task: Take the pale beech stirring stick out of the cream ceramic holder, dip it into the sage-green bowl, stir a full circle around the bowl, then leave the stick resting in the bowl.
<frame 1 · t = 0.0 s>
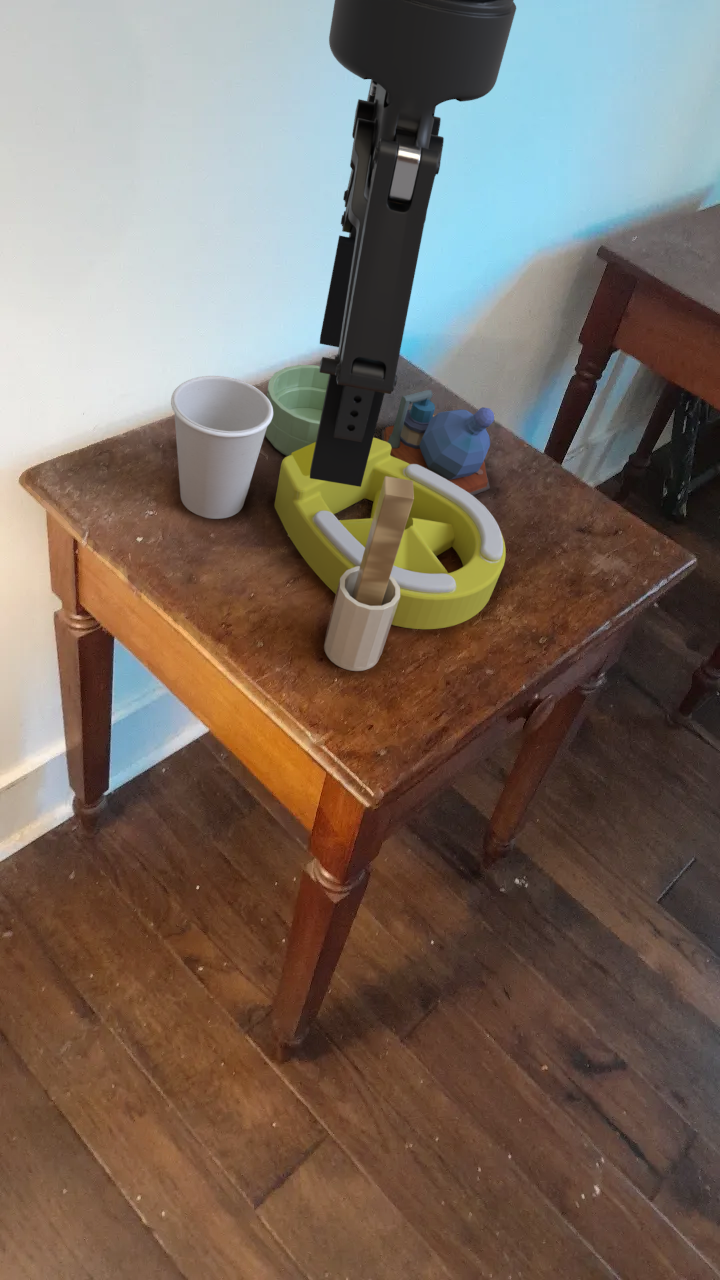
hand: (338, 406, 54), 25 cm above the table, tool pointing down, fingers open, 13 cm apart
dixie cup: (212, 499, 85), on the table
bowl: (311, 436, 94), on the table
holder: (352, 649, 76), on the table
toy steering wheel: (386, 549, 85), on the table
model: (433, 462, 96), on the table
stick: (353, 645, 75), resting on holder
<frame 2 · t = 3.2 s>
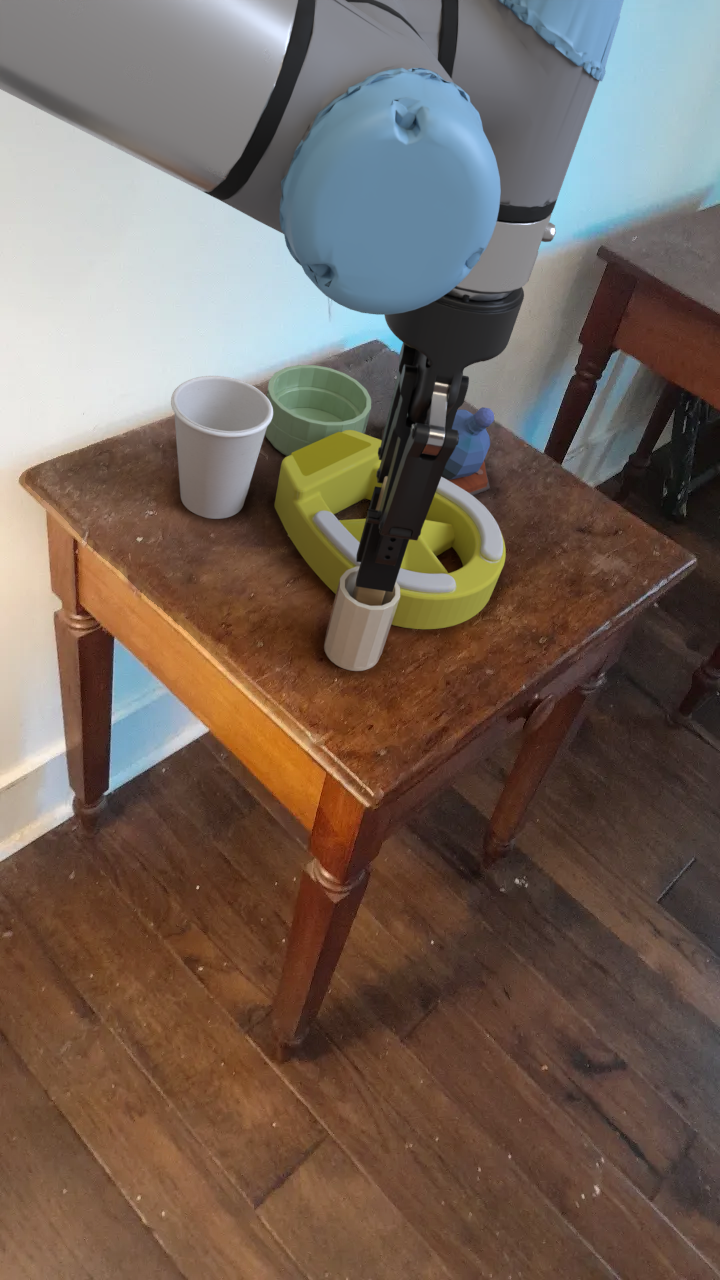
hand: (374, 572, 69), 8 cm above the table, tool pointing down, fingers closed on stick, 2 cm apart
stick: (353, 645, 75), point 1 cm above the table, touching gripper, holder
everything else where it was.
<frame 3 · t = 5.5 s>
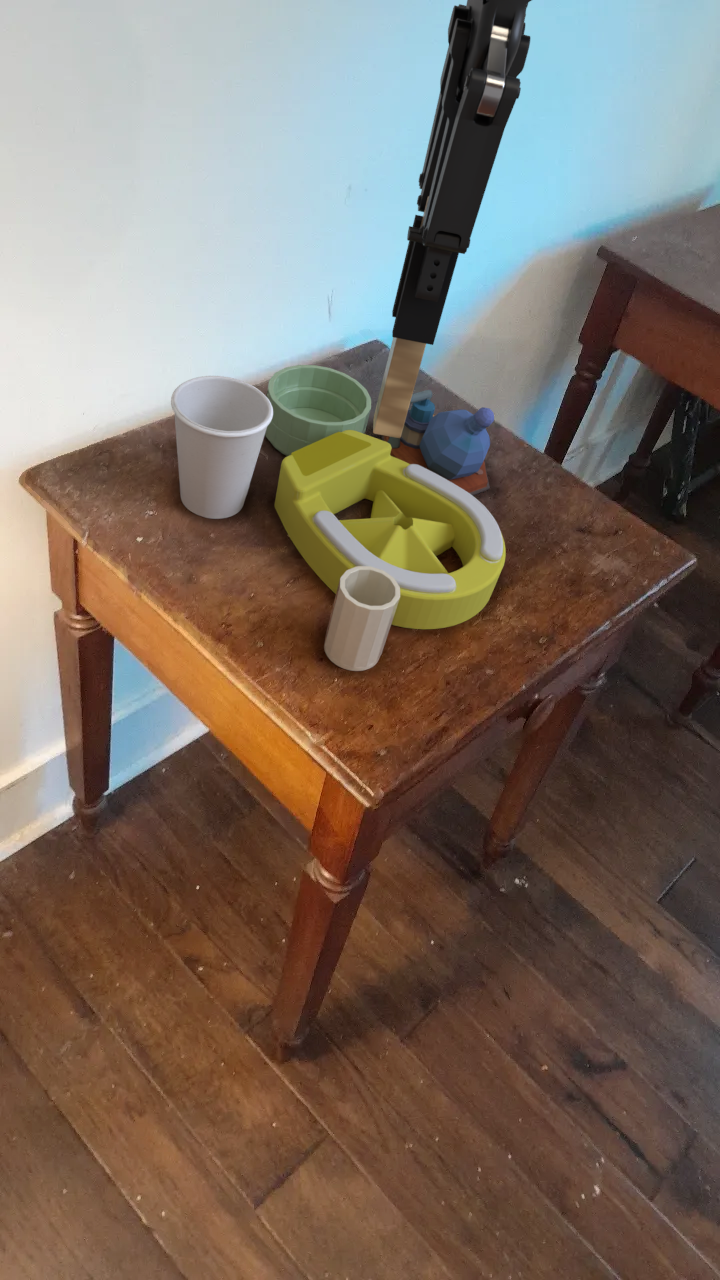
hand: (412, 327, 62), 25 cm above the table, tool pointing down, fingers closed on stick, 2 cm apart
stick: (386, 428, 68), point 17 cm above the table, touching gripper
everything else where it was.
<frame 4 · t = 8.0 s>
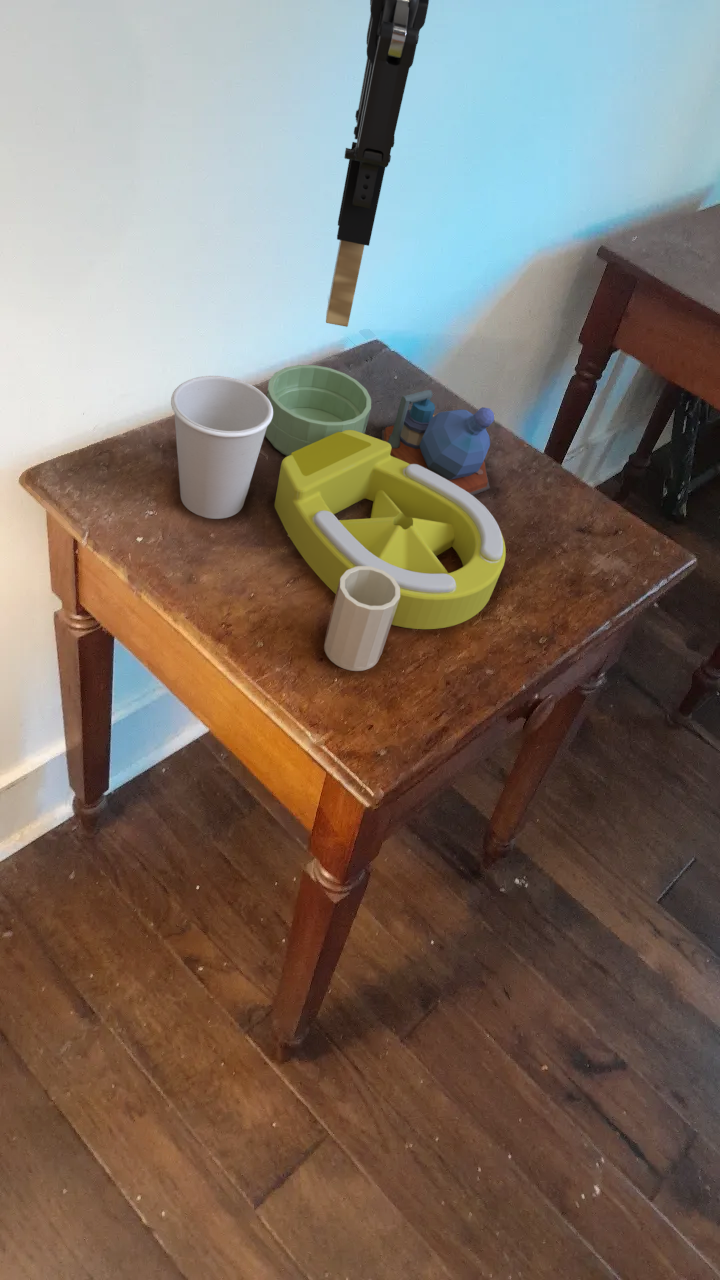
hand: (353, 233, 79), 21 cm above the table, tool pointing down, fingers closed on stick, 2 cm apart
stick: (336, 319, 85), point 13 cm above the table, touching gripper
everything else where it was.
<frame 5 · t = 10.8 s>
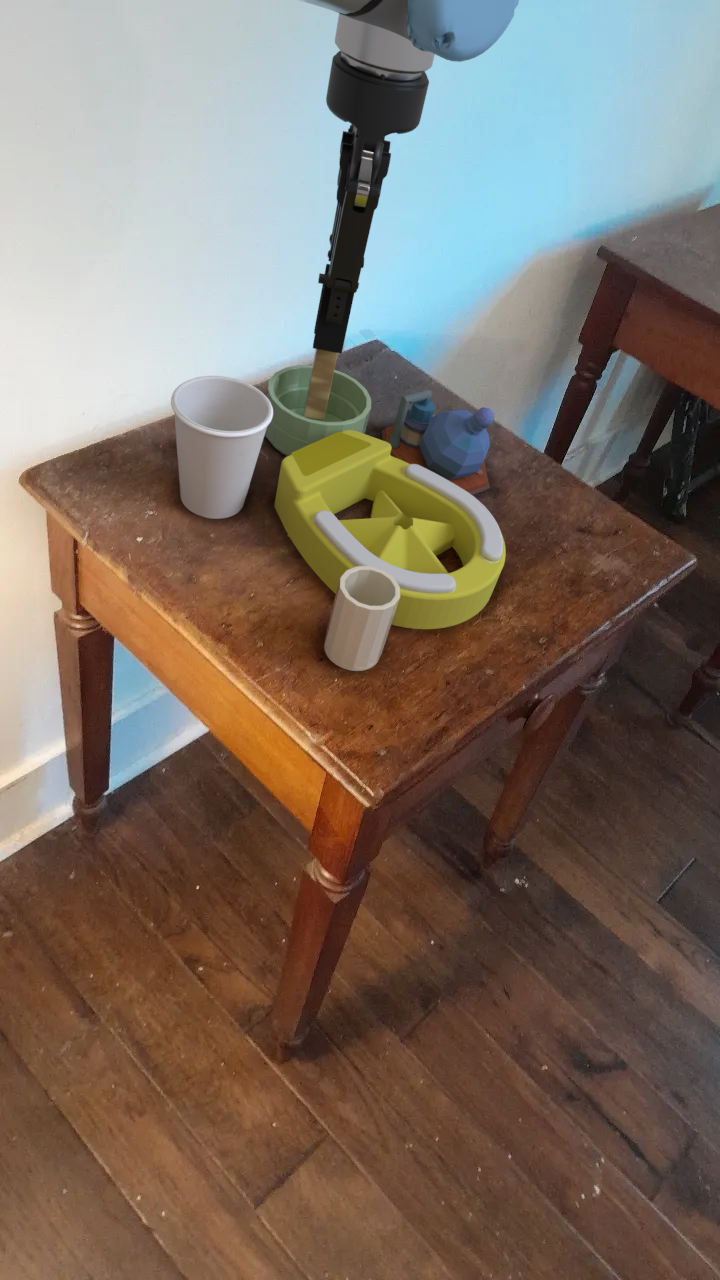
hand: (327, 341, 88), 10 cm above the table, tool pointing down, fingers closed on stick, 2 cm apart
stick: (314, 413, 94), point 2 cm above the table, touching gripper
everything else where it was.
when the fingers open (9 cm above the table, at t = 12.7 s): stick stays where it is, resting on bowl.
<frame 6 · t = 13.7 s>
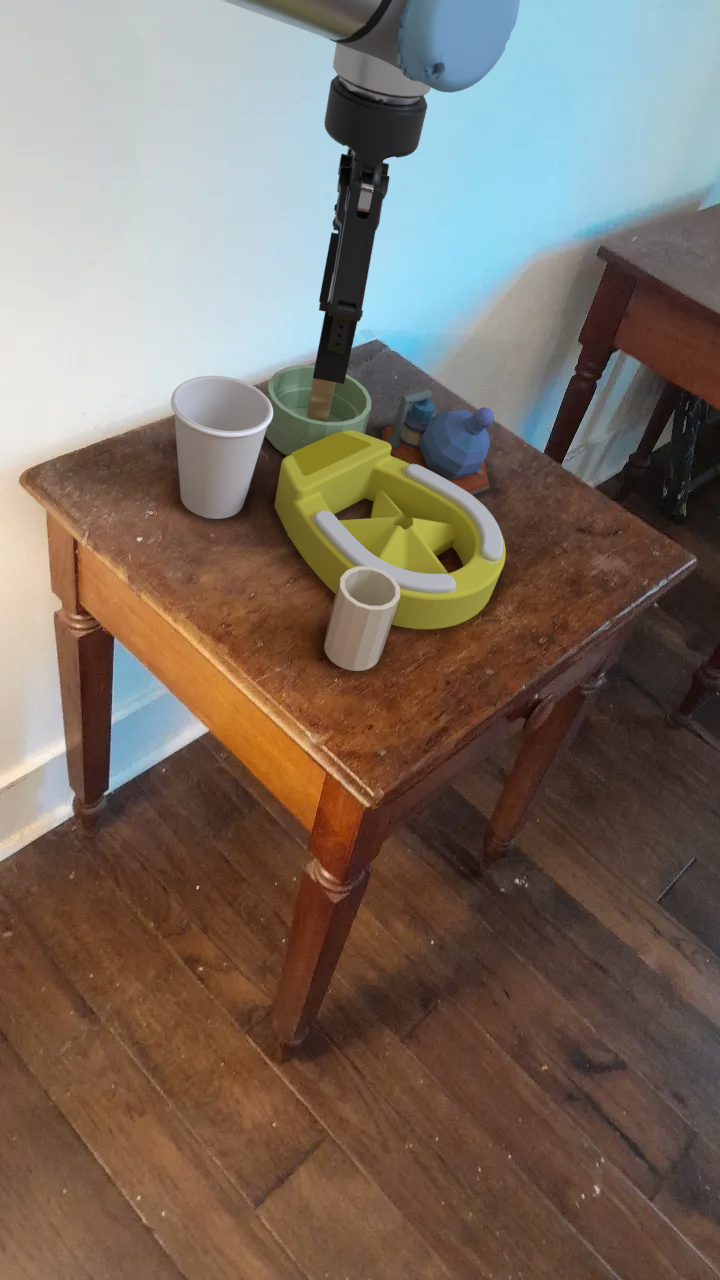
hand: (330, 339, 86), 11 cm above the table, tool pointing down, fingers open, 13 cm apart
stick: (314, 431, 94), point 1 cm above the table, touching bowl
everything else where it was.
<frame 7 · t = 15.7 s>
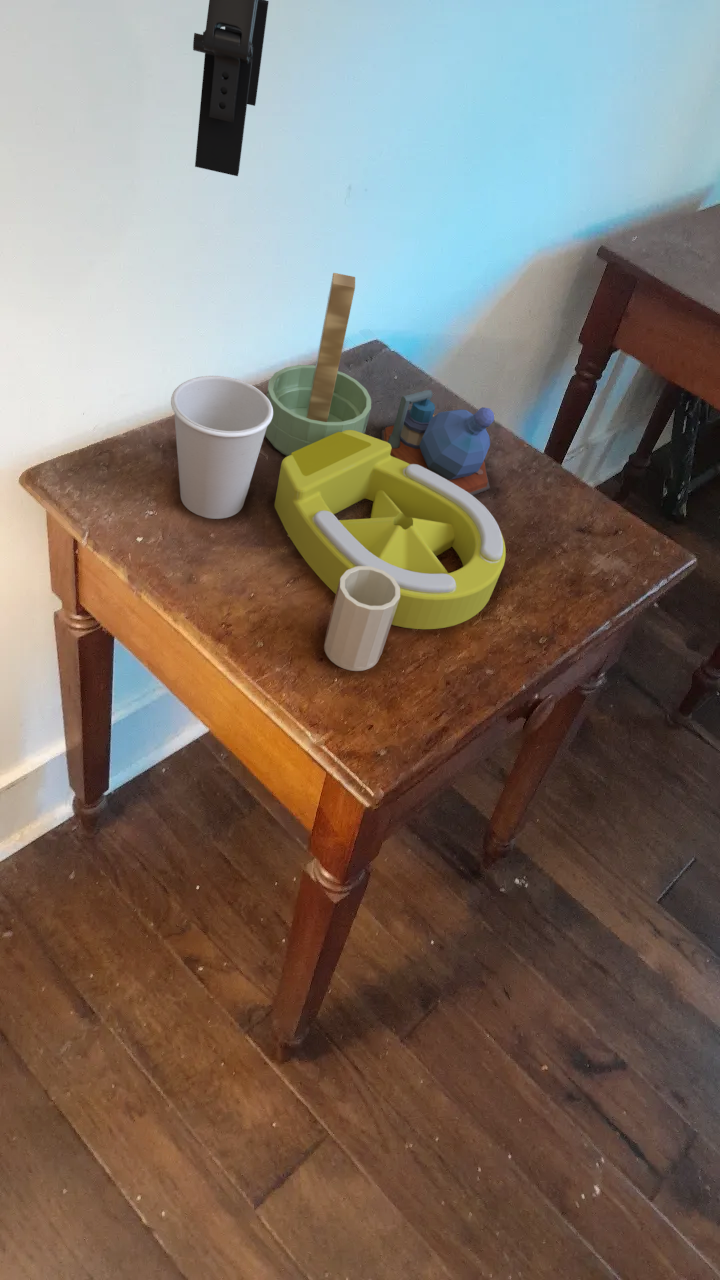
hand: (227, 132, 65), 30 cm above the table, tool pointing down, fingers open, 13 cm apart
nothing on the table moved.
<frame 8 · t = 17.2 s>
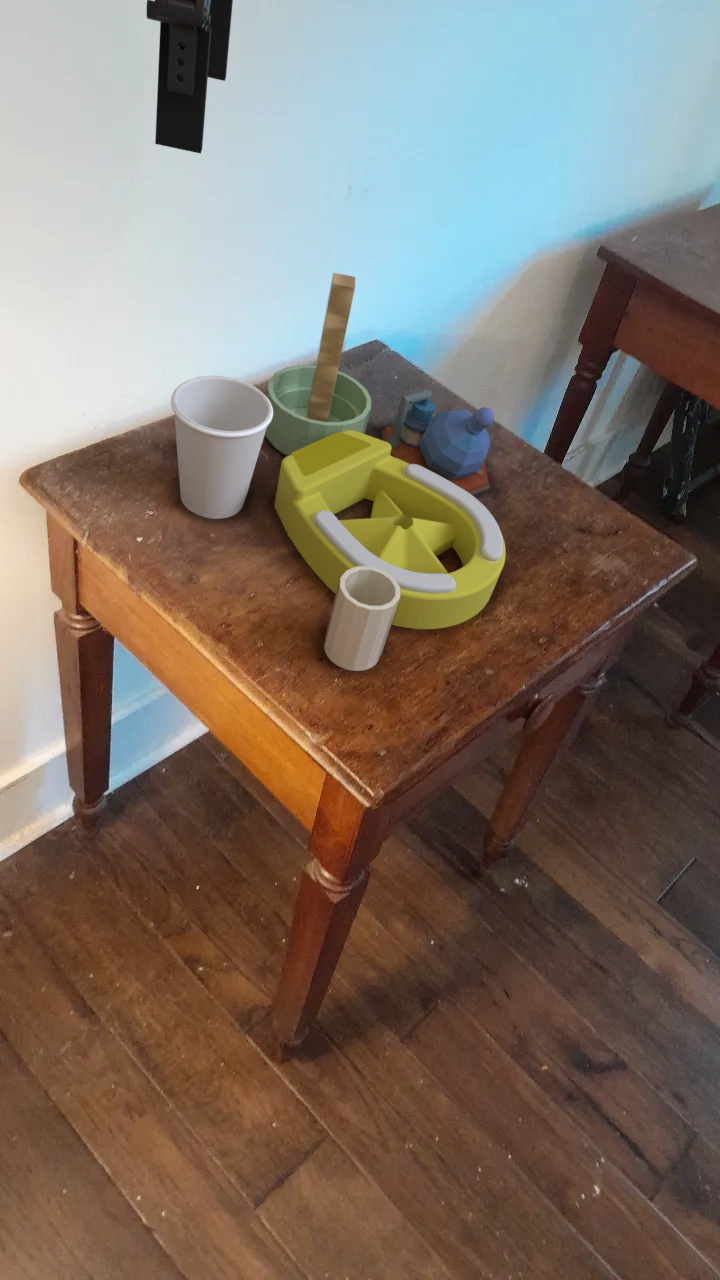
hand: (193, 108, 62), 32 cm above the table, tool pointing down, fingers open, 13 cm apart
nothing on the table moved.
at the end: stick inside the target area in the bowl (0.1 cm from its centre), point 0.6 cm above the bowl's base; the gripper is holding nothing; stick moved 28.4 cm from its start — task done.
